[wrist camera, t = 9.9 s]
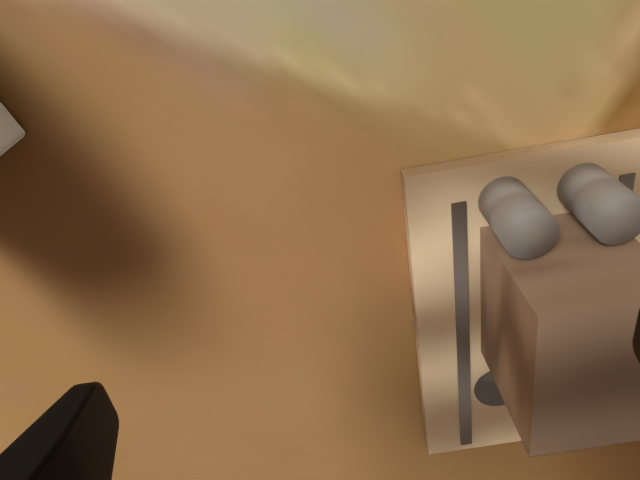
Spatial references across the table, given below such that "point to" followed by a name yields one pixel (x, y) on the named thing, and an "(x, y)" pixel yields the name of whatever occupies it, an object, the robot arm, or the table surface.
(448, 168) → the guide board
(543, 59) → the table surface
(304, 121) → the table surface
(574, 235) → the upright wooden block
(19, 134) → the small box
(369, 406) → the table surface
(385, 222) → the table surface
